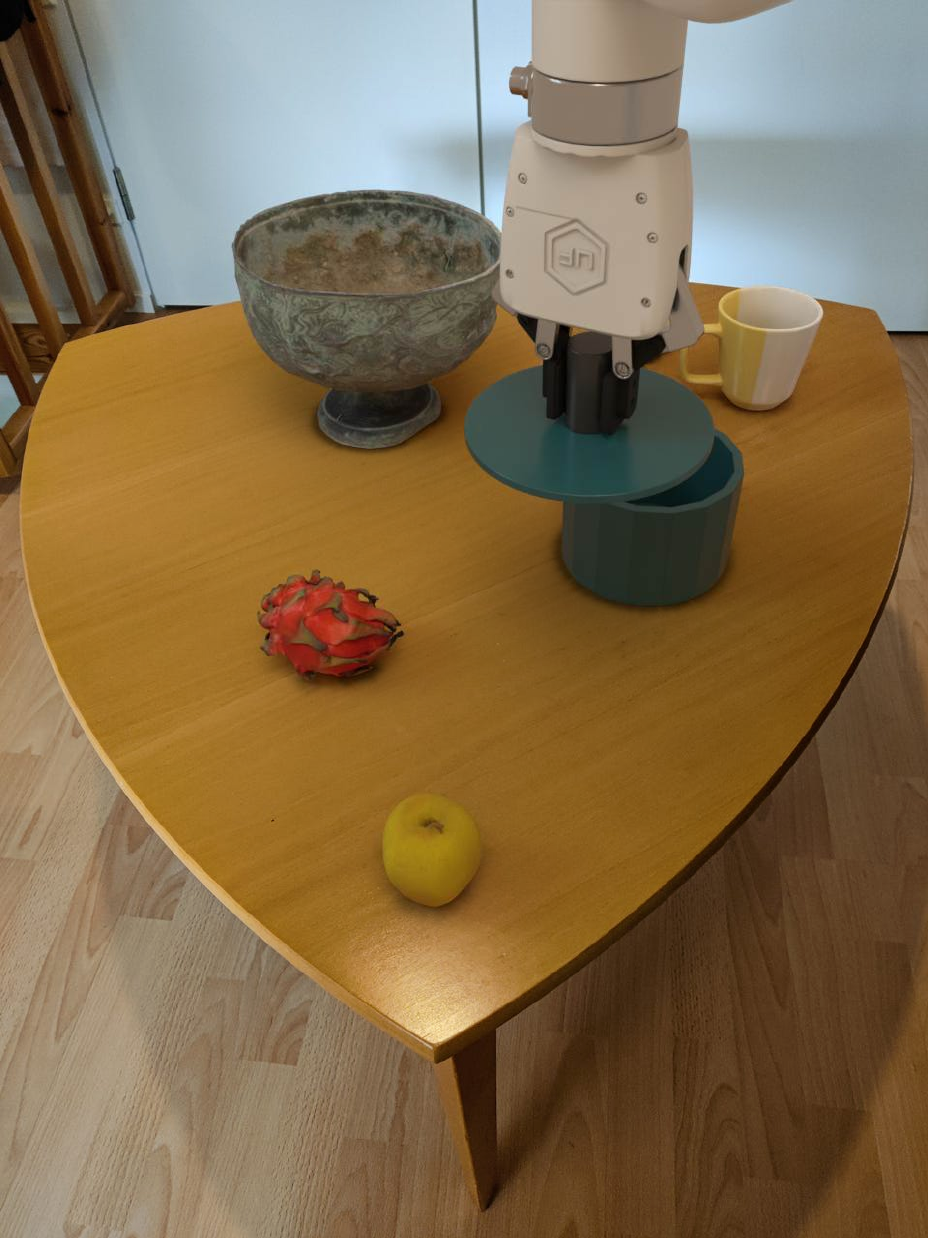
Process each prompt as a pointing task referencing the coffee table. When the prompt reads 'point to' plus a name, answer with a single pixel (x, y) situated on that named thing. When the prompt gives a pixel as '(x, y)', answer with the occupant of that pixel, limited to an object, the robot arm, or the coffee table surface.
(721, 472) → the pot
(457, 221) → the decorative bowl
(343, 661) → the dragon fruit
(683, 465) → the lid
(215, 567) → the coffee table surface
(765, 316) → the mug
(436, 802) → the apple
